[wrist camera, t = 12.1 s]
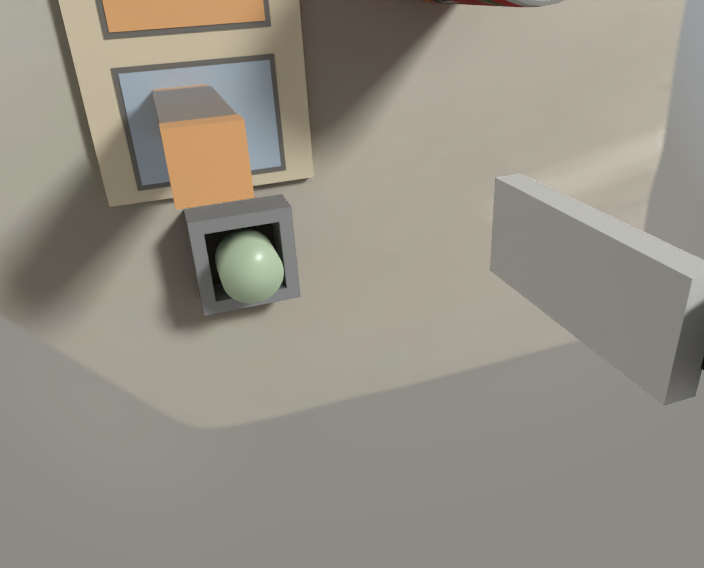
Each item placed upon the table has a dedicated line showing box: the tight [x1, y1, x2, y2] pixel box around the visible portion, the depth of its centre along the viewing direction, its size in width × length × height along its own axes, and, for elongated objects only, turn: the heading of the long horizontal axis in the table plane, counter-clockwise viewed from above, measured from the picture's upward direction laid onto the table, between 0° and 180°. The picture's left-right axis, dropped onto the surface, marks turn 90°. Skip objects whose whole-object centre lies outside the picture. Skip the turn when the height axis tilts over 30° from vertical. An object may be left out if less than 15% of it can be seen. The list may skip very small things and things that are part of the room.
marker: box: [152, 84, 255, 210], centre depth 28 cm, size 3×3×12 cm
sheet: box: [58, 0, 314, 207], centre depth 32 cm, size 17×12×1 cm
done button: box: [215, 229, 284, 303], centre depth 36 cm, size 4×4×3 cm
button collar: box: [184, 195, 300, 316], centre depth 37 cm, size 6×6×2 cm
